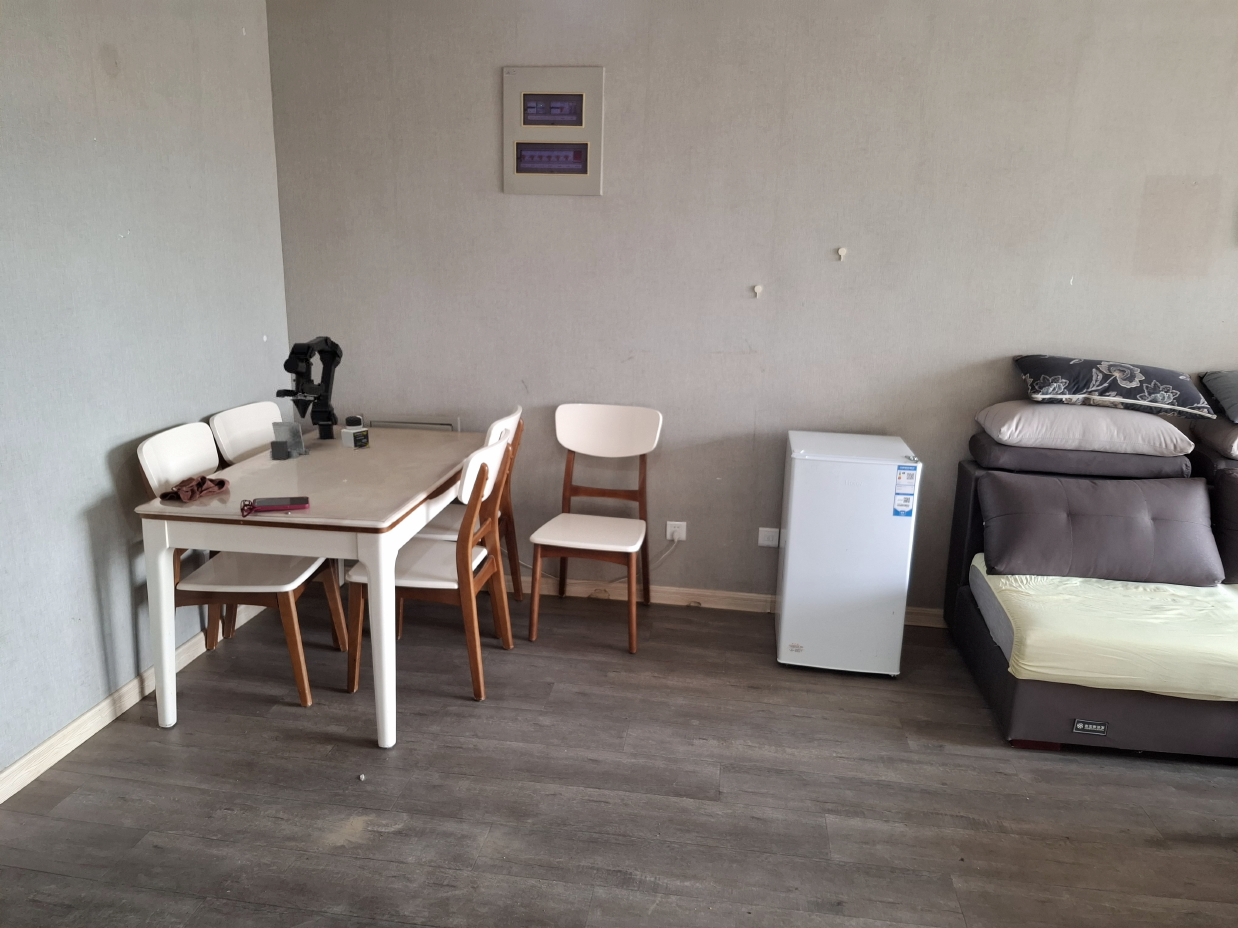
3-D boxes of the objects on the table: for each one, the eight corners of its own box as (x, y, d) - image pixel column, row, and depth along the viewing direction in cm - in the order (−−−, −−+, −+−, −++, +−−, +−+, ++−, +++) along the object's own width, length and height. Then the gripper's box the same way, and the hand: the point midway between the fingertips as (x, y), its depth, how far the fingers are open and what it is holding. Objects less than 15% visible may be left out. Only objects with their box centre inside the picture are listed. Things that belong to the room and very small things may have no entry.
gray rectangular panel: (278, 453, 303) (279, 452, 304) (304, 454, 302) (305, 452, 303) (271, 423, 298) (273, 421, 299) (298, 423, 297) (300, 422, 298)
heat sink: (274, 453, 303) (272, 436, 302) (309, 454, 302) (307, 436, 301) (261, 460, 294) (259, 441, 293) (297, 460, 293) (295, 442, 291)
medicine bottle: (354, 450, 312) (352, 419, 309) (342, 448, 316) (339, 417, 313) (369, 446, 318) (367, 416, 315) (357, 444, 322) (355, 414, 319)
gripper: (292, 372, 297) (292, 416, 297) (338, 377, 312) (337, 419, 312) (275, 374, 304) (275, 417, 303) (320, 379, 318) (320, 419, 318)
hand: (302, 418), depth 309 cm, fingers closed
